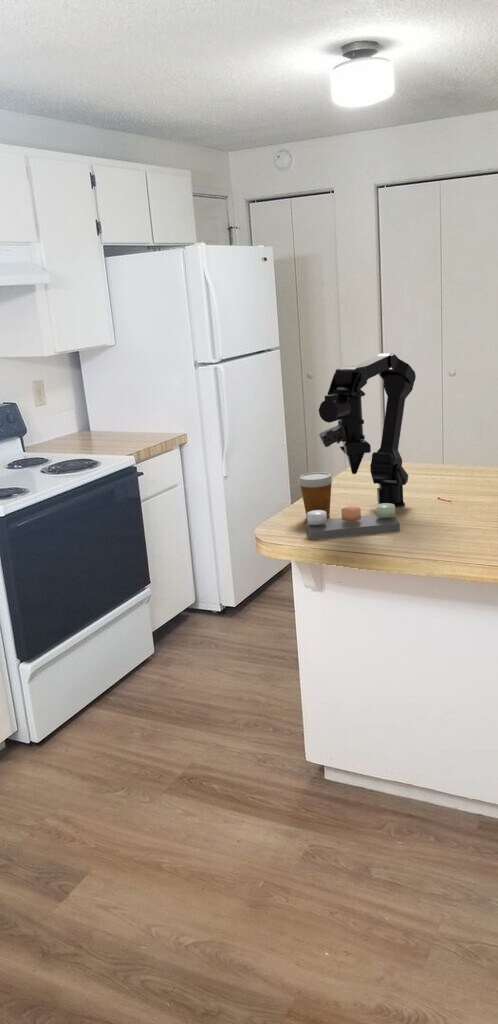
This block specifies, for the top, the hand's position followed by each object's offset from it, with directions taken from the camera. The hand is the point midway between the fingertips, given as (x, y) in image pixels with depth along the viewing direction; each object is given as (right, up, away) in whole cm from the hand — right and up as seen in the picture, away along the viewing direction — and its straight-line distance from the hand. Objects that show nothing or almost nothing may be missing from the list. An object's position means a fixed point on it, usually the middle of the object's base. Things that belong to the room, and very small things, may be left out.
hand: (354, 473), depth 220 cm
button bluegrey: (-10, -13, -4) cm, 17 cm away
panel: (-1, -15, -3) cm, 15 cm away
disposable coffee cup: (-9, -12, +10) cm, 18 cm away
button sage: (+8, -11, -4) cm, 14 cm away
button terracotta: (-1, -12, -4) cm, 13 cm away
